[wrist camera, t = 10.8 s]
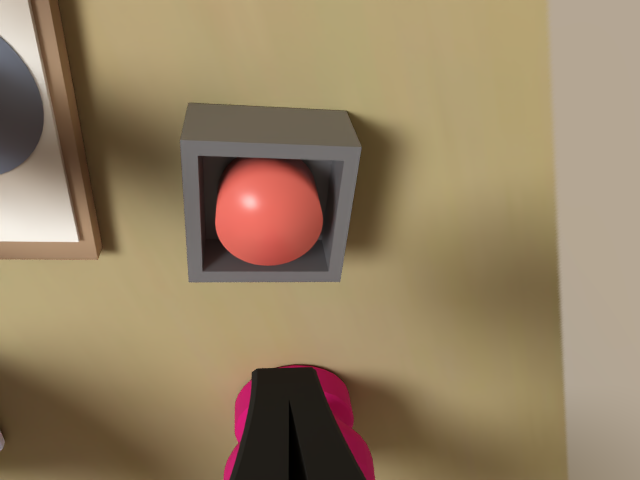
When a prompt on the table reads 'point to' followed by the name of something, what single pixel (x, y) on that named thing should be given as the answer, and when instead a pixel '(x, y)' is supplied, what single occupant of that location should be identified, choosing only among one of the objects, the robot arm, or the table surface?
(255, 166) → the button
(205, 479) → the table surface
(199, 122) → the button box
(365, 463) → the pepper mill
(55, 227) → the clipboard
